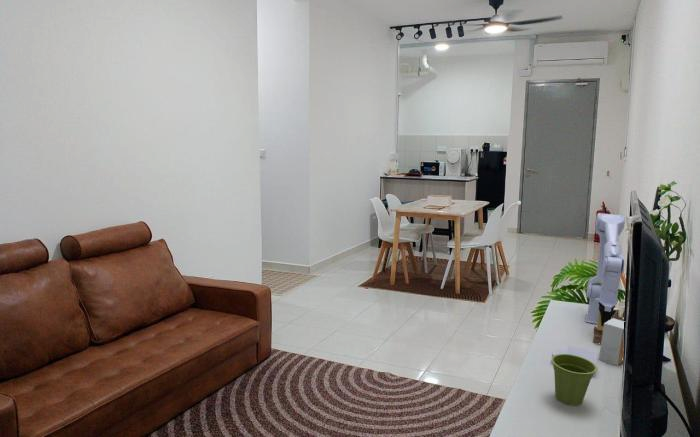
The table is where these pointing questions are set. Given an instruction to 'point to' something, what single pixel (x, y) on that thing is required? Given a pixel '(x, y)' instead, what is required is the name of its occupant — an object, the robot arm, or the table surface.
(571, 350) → the wedge on round base
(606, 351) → the small box
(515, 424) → the table surface
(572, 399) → the plant pot
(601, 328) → the ochre block
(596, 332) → the notched board
